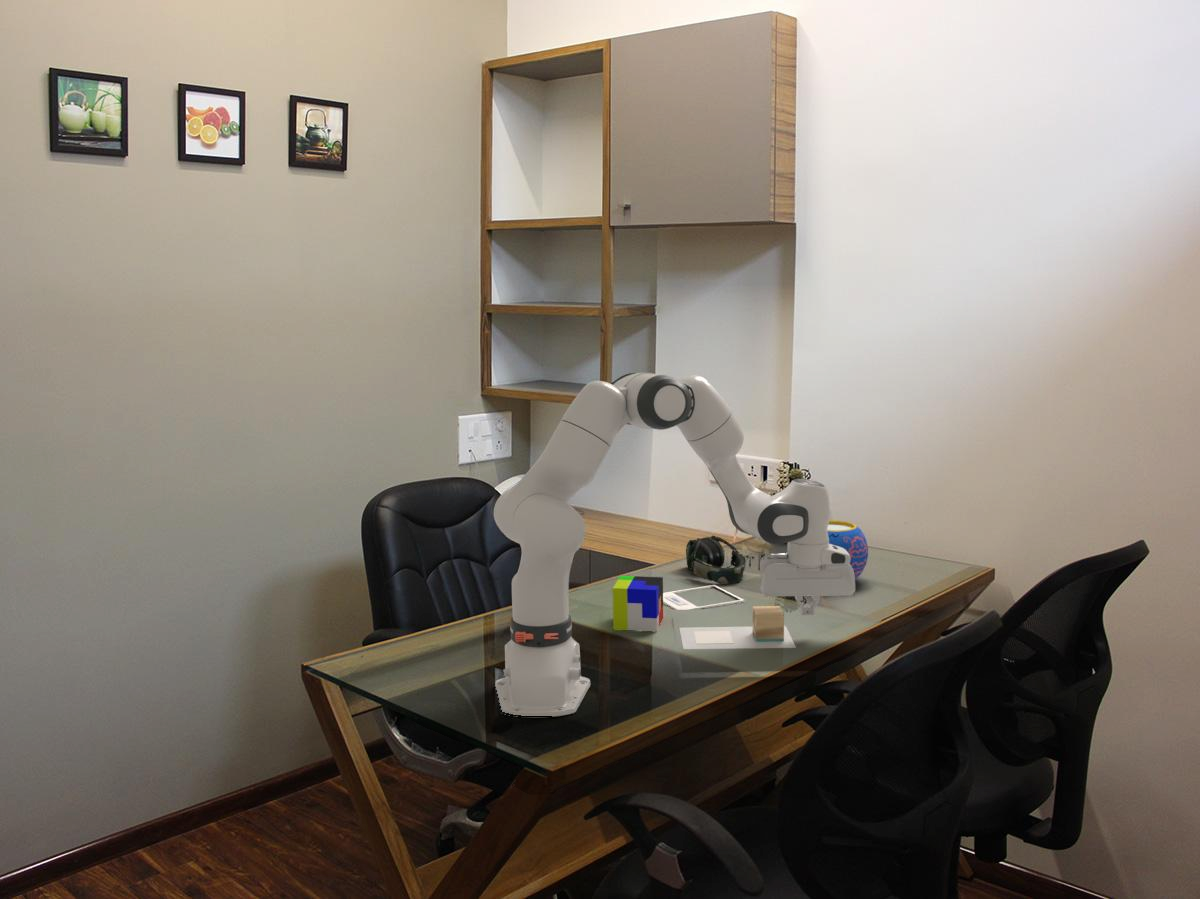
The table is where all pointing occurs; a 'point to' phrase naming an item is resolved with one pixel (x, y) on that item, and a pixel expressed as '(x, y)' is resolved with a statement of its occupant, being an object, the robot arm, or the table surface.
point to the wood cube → (768, 623)
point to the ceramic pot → (850, 543)
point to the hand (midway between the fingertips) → (807, 614)
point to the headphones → (714, 560)
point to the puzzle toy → (638, 603)
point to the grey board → (728, 638)
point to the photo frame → (682, 604)
